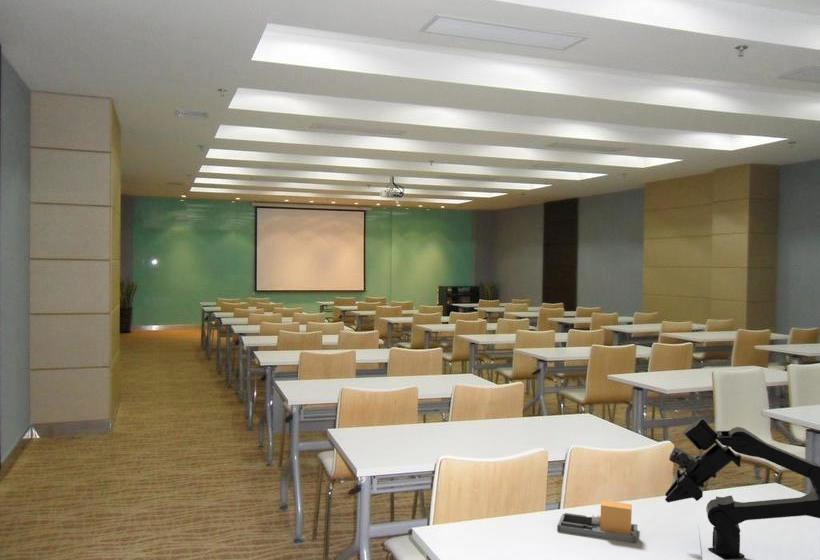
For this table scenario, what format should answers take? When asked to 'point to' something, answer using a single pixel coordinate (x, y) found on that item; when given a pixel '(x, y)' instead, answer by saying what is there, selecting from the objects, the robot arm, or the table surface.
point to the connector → (614, 517)
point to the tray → (591, 528)
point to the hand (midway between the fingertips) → (666, 498)
